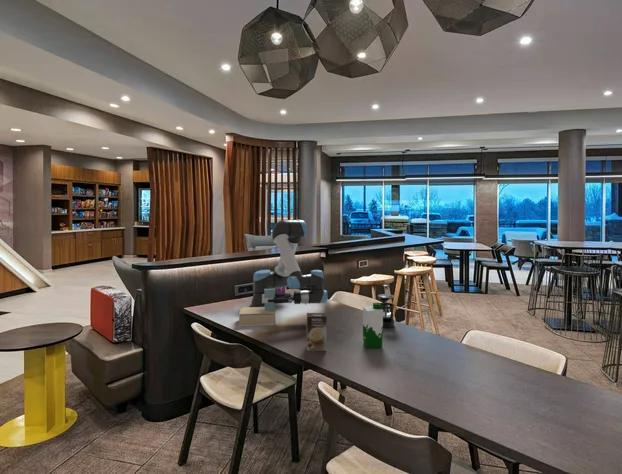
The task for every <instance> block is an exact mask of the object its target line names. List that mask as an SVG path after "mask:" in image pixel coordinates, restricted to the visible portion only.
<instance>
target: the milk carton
mask: <svg viewBox="0 0 622 474" xmlns="http://www.w3.org/2000/svg"><path fill="white" fill-rule="evenodd" d="M381 303H382V302H373V303H372V305H367V306H362V340H363V341H362V342H363V344H364V346H365V348H366V349H382V348H383V336H384V335H383V334H384V332H383V331H384V328H383V318H384V317H383V312H384V309H382V306H383V305H382V304H381Z"/></svg>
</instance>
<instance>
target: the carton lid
mask: <svg viewBox="0 0 622 474" xmlns="http://www.w3.org/2000/svg"><path fill="white" fill-rule="evenodd" d="M274 297H275V289H264V298H274ZM254 314H275V315H276V304H275V303H265V307H254V306H251V307H249V306H248V307H240V310H239V313H238V316H239V315H254Z"/></svg>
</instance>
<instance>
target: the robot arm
mask: <svg viewBox="0 0 622 474" xmlns="http://www.w3.org/2000/svg"><path fill="white" fill-rule="evenodd" d="M307 225H308V224H307V223H306V221H305V220H302V219H282V220H281V219H280V220H279V221H277V222H276V223H275V224H274V225H273V228H272V230H271V231H272V232H271V237H272V241H273V243H274V244H276V247H277V249H278V252H279V254H280V257H279V261H278V264H277V266H275V267H274V270H272V271H271V270H270V269H260V270H258V271H255V272H253V295H252V300H251V302H250V303H251V307H265V303H275V305H279V304H288V303H289V304H292V303H294V305H300V304H302V305H307V304H319V305H320V304H325V303H327V302H328V291H327V290H325V288H324V279H325V277H324V276H325V275H324V271H323V270H320V269H313V270H310V273H309V274H303V272H302V271H301V269H300V266H299V263H298V261H297V258H296V256H295V255H296V251H297V248H298V245H300V243H302V239H305V238H307V236H308V232H309V230H308V229H309V228H308V226H307ZM281 287H286V288H287V287H288V289H290V290H294V291H293V294H291V293H292V292H288V293H287V292H286V293H275V297H274V298H264V289H271V288H281ZM302 289H310V290H302ZM300 290H301V291H300Z"/></svg>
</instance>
